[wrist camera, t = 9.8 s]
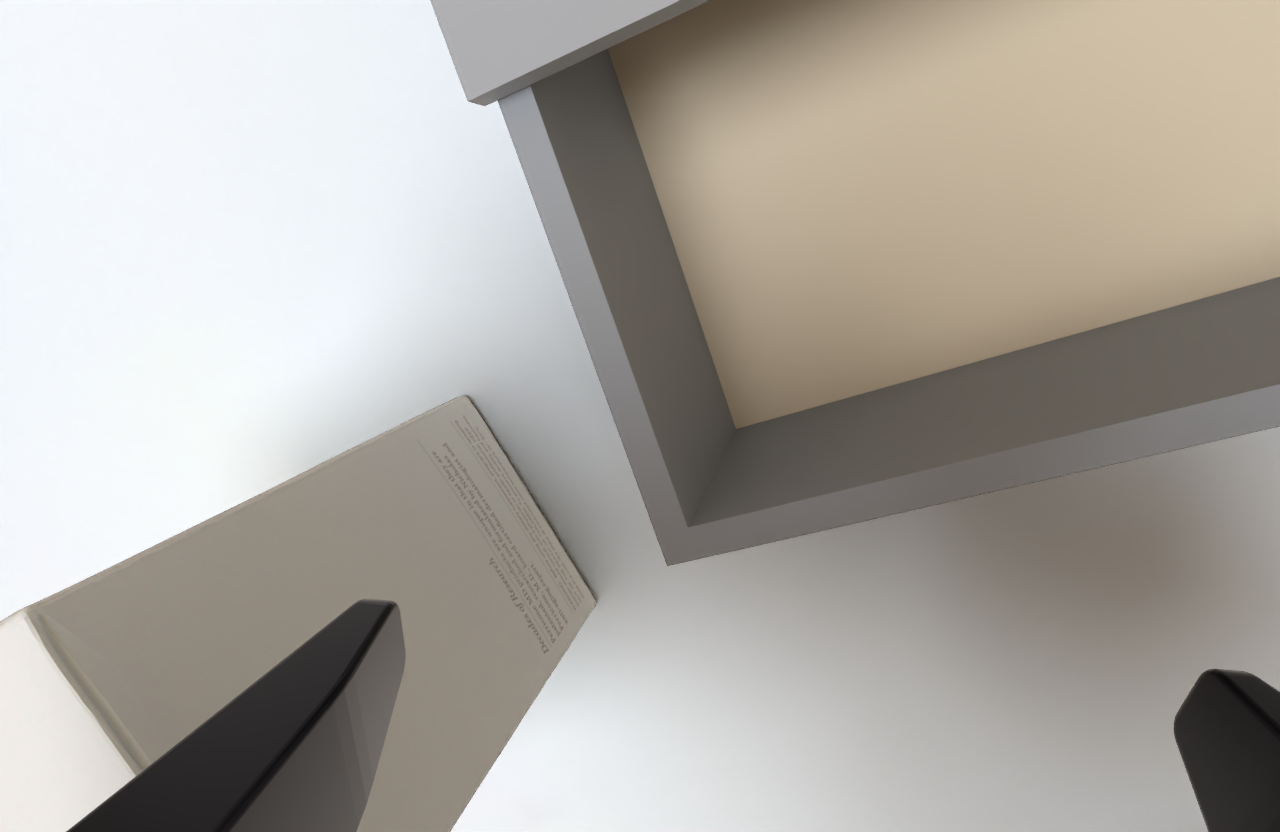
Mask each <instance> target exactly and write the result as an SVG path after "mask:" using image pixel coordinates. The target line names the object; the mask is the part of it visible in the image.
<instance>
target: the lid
mask: <svg viewBox="0 0 1280 832" xmlns="http://www.w3.org/2000/svg"><path fill="white" fill-rule="evenodd" d="M430 1H431V3H432V6H433V9H434V12H435V14H436V17H437V20H438V22H439V25H440V28H441V30H442V33H443V36H444V38H445V41H446V44H447V47H448V49H449V52H450V55H451V57H452V60H453V63H454V65H455V68H456V71H457V74H458V76H459V79H460V82H461V84H462V87H463V90H464V92H465V95H466V98H467V100H468V101H469V102H472V103H476V104H479V105H483V106H486V105H488V104H490V103H493V102H495V101H497V100H499V99H501V98H503V97H505V96H507V95H510V94H512V93H514V92H516V91H518V90H520V89H522V88H525V87H527V86H529V85H531V84H533V83H535V82H537V81H539V80H542V79H544V78H546V77H548V76H550V75H552V74H554V73H557V72H559V71H561V70H563V69H565V68H567V67H569V66H571V65H574V64H576V63H578V62H580V61H582V60H584V59H586V58H589V57H591V56H593V55H595V54H597V53H599V52H601V51H603V50H606V49H608V48H610V47H612V46H614V45H616V44H618V43H621V42H623V41H625V40H627V39H629V38H631V37H633V36H635V35H638V34H640V33H642V32H644V31H646V30H648V29H650V28H652V27H655V26H657V25H659V24H661V23H663V22H665V21H667V20H670V19H672V18H674V17H676V16H678V15H680V14H682V13H684V12H687V11H689V10H691V9H693V8H695V7H697V6H699V5H702V4H704V3H706V2H708V1H710V0H430Z"/></svg>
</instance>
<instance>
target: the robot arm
mask: <svg viewBox="0 0 1280 832" xmlns="http://www.w3.org/2000/svg"><path fill="white" fill-rule="evenodd" d="M405 660H406V651H405V643H404V636H403V629H402V621H401V614H400V609H399V606H398V605H397V603H396V602H394V601H390V600H378V599H361V600H359V601H357V602H355V603H354V604H352V605H351V606H350V607H349V608H347V609H346V610H345V611H344V612H342V613H341V614H340V615H339V616H337V617H336V618H335V619H334V620H332V621H331V622H330V623H328V624H327V625H326V626H325V627H323V628H322V629H321V630H320V631H318V632H317V633H316V634H315V635H313V636H312V637H311V638H310V639H308V640H307V641H306V642H305V643H303V644H302V645H301V646H299V647H298V648H297V649H296V650H294V651H293V652H292V653H291V654H289V655H288V656H287V657H286V658H284V659H283V660H282V661H281V662H279V663H278V664H277V665H276V666H274V667H273V668H272V669H270V670H269V671H268V672H267V673H265V674H264V675H263V676H262V677H260V678H259V679H258V680H257V681H255V682H254V683H253V684H252V685H250V686H249V687H248V688H247V689H245V690H244V691H243V692H241V693H240V694H239V695H238V696H236V697H235V698H234V699H233V700H231V701H230V702H229V703H228V704H226V705H225V706H224V707H223V708H221V709H220V710H219V711H217V712H216V713H215V714H214V715H212V716H211V717H210V718H209V719H207V720H206V721H205V722H204V723H202V724H201V725H200V726H199V727H197V728H196V729H195V730H194V731H192V732H191V733H190V734H188V735H187V736H186V737H185V738H183V739H182V740H181V741H180V742H178V743H177V744H176V745H175V746H173V747H172V748H171V749H170V750H168V751H167V752H166V753H165V754H163V755H162V756H161V757H159V758H158V759H157V760H156V761H154V762H153V763H152V764H151V765H149V766H148V767H147V768H146V769H144V770H143V771H142V772H141V773H139V774H138V775H137V776H136V777H134V778H133V779H132V780H130V781H129V782H128V783H127V784H125V785H124V786H123V787H122V788H120V789H119V790H118V791H117V792H115V793H114V794H113V795H112V796H110V797H109V798H108V799H107V800H105V801H104V802H103V803H101V804H100V805H99V806H98V807H96V808H95V809H94V810H93V811H91V812H90V813H89V814H88V815H86V816H85V817H84V818H83V819H81V820H80V821H79V822H77V823H76V824H75V825H74V826H72V827H71V828H70V829H69V830H67V831H66V832H357V830H358V827H359V824H360V822H361V819H362V816H363V814H364V811H365V808H366V805H367V802H368V799H369V796H370V792H371V789H372V785H373V782H374V778H375V775H376V771H377V768H378V764H379V760H380V757H381V753H382V749H383V746H384V742H385V738H386V735H387V731H388V728H389V724H390V720H391V717H392V713H393V709H394V706H395V702H396V699H397V695H398V691H399V688H400V684H401V680H402V677H403V673H404V668H405ZM1174 735H1175V739H1176V743H1177V745H1178V748H1179V751H1180V754H1181V757H1182V759H1183V762H1184V765H1185V768H1186V770H1187V773H1188V776H1189V779H1190V782H1191V784H1192V787H1193V790H1194V793H1195V795H1196V798H1197V801H1198V804H1199V806H1200V809H1201V812H1202V815H1203V818H1204V820H1205V823H1206V826H1207V829H1208V831H1209V832H1280V692H1279V691H1277V690H1276V689H1274V688H1273V687H1272V686H1270V685H1269V684H1267V683H1266V682H1264V681H1263V680H1261V679H1260V678H1258V677H1257V676H1255V675H1253V674H1251V673H1248V672H1244V671H1234V670H1222V669H1209V670H1207V671H1205V672H1204V673H1202V674H1201V675H1200V677H1199V678H1198V680H1197V681H1196V683H1195V685H1194V686H1193V688H1192V689H1191V691H1190V693H1189V694H1188V696H1187V698H1186V699H1185V701H1184V703H1183V704H1182V706H1181V707H1180V709H1179V711H1178V712H1177V714H1176V716H1175V720H1174Z"/></svg>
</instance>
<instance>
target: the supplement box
mask: <svg viewBox="0 0 1280 832" xmlns="http://www.w3.org/2000/svg"><path fill="white" fill-rule="evenodd" d="M361 599H378V600H390V601H394V602H396V603H397V605H398V606H399V609H400V614H401V621H402V629H403V636H404V643H405V651H406V660H405V668H404V673H403V677H402V680H401V684H400V688H399V691H398V695H397V699H396V702H395V706H394V709H393V713H392V717H391V720H390V724H389V728H388V731H387V735H386V738H385V742H384V746H383V749H382V753H381V757H380V760H379V764H378V768H377V771H376V775H375V778H374V782H373V785H372V789H371V792H370V796H369V799H368V802H367V805H366V808H365V811H364V814H363V816H362V819H361V822H360V824H359V827H358V830H357V832H450V831H451V829H452V828H453V826H454V825H455V823H456V822H457V820H458V819H459V817H460V815H461V814H462V812H463V811H464V809H465V808H466V806H467V804H468V803H469V801H470V800H471V798H472V797H473V795H474V793H475V792H476V790H477V789H478V787H479V786H480V784H481V783H482V781H483V779H484V778H485V776H486V775H487V773H488V772H489V770H490V769H491V767H492V766H493V764H494V762H495V761H496V759H497V758H498V756H499V755H500V753H501V752H502V750H503V749H504V747H505V746H506V744H507V742H508V741H509V739H510V738H511V736H512V735H513V733H514V731H515V730H516V728H517V727H518V725H519V723H520V722H521V720H522V719H523V717H524V715H525V714H526V712H527V711H528V709H529V708H530V706H531V705H532V703H533V702H534V700H535V699H536V697H537V696H538V694H539V692H540V691H541V689H542V688H543V686H544V684H545V683H546V681H547V680H548V678H549V676H550V675H551V674H552V672H553V671H554V669H555V667H556V666H557V664H558V663H559V661H560V660H561V658H562V657H563V655H564V654H565V652H566V651H567V649H568V648H569V646H570V644H571V643H572V641H573V640H574V638H575V637H576V635H577V633H578V631H579V630H580V628H581V627H582V625H583V624H584V622H585V620H586V619H587V617H588V616H589V614H590V613H591V611H592V610H593V609H594V608H595V606H596V601H595V599H594V597H593V596H592V594H591V592H590V590H589V589H588V587H587V585H586V584H585V582H584V581H583V579H582V577H581V576H580V574H579V572H578V571H577V569H576V567H575V566H574V564H573V563H572V561H571V560H570V558H569V556H568V554H567V553H566V551H565V550H564V548H563V547H562V545H561V543H560V542H559V540H558V539H557V537H556V536H555V534H554V532H553V530H552V529H551V527H550V525H549V524H548V522H547V521H546V519H545V518H544V516H543V514H542V513H541V511H540V510H539V508H538V507H537V505H536V503H535V502H534V500H533V498H532V497H531V495H530V493H529V492H528V490H527V488H526V487H525V485H524V484H523V482H522V481H521V479H520V477H519V476H518V474H517V473H516V471H515V470H514V468H513V467H512V465H511V463H510V462H509V460H508V458H507V457H506V455H505V453H504V452H503V450H502V449H501V447H500V446H499V444H498V443H497V441H496V440H495V438H494V437H493V435H492V433H491V431H490V429H489V428H488V426H487V425H486V423H485V422H484V420H483V419H482V417H481V416H480V414H479V413H478V411H477V410H476V409H475V407H474V406H473V404H472V403H471V402H470V400H469V399H468V398H467V397H465V396H460V397H457V398H455V399H452V400H450V401H448V402H446V403H444V404H442V405H440V406H438V407H436V408H434V409H431V410H429V411H427V412H425V413H423V414H421V415H419V416H417V417H415V418H413V419H411V420H409V421H407V422H405V423H402V424H400V425H398V426H397V427H395V428H393V429H391V430H389V431H386V432H384V433H382V434H380V435H378V436H376V437H374V438H372V439H370V440H368V441H366V442H364V443H362V444H360V445H358V446H356V447H354V448H352V449H349V450H347V451H345V452H343V453H341V454H339V455H337V456H335V457H333V458H331V459H329V460H327V461H325V462H323V463H321V464H319V465H317V466H315V467H313V468H311V469H309V470H307V471H305V472H303V473H301V474H299V475H297V476H295V477H293V478H291V479H289V480H287V481H285V482H283V483H281V484H279V485H277V486H275V487H273V488H271V489H269V490H267V491H265V492H263V493H261V494H259V495H257V496H255V497H253V498H251V499H249V500H247V501H245V502H243V503H241V504H239V505H237V506H234V507H232V508H230V509H228V510H226V511H224V512H222V513H220V514H218V515H216V516H214V517H212V518H210V519H208V520H206V521H204V522H202V523H200V524H197V525H195V526H193V527H191V528H189V529H187V530H185V531H183V532H181V533H179V534H177V535H175V536H173V537H171V538H169V539H167V540H165V541H163V542H161V543H159V544H157V545H155V546H153V547H151V548H149V549H146V550H144V551H142V552H140V553H138V554H136V555H134V556H132V557H130V558H128V559H126V560H124V561H122V562H120V563H118V564H116V565H114V566H112V567H110V568H108V569H106V570H103V571H101V572H99V573H97V574H95V575H93V576H91V577H89V578H87V579H85V580H83V581H81V582H79V583H77V584H74V585H72V586H70V587H68V588H66V589H64V590H62V591H60V592H58V593H55V594H53V595H51V596H49V597H47V598H45V599H43V600H40V601H38V602H36V603H34V604H31V605H29V606H27V607H25V608H23V609H21V610H19V611H17V612H15V613H13V614H12V615H10V616H8V617H7V618H5V619H4V620H2V621H0V832H66V831H67V830H69V829H70V828H71V827H72V826H74V825H75V824H76V823H77V822H79V821H80V820H81V819H83V818H84V817H85V816H86V815H88V814H89V813H90V812H91V811H93V810H94V809H95V808H96V807H98V806H99V805H100V804H101V803H103V802H104V801H105V800H107V799H108V798H109V797H110V796H112V795H113V794H114V793H115V792H117V791H118V790H119V789H120V788H122V787H123V786H124V785H125V784H127V783H128V782H129V781H130V780H132V779H133V778H134V777H136V776H137V775H138V774H139V773H141V772H142V771H143V770H144V769H146V768H147V767H148V766H149V765H151V764H152V763H153V762H154V761H156V760H157V759H158V758H159V757H161V756H162V755H163V754H165V753H166V752H167V751H168V750H170V749H171V748H172V747H173V746H175V745H176V744H177V743H178V742H180V741H181V740H182V739H183V738H185V737H186V736H187V735H188V734H190V733H191V732H192V731H194V730H195V729H196V728H197V727H199V726H200V725H201V724H202V723H204V722H205V721H206V720H207V719H209V718H210V717H211V716H212V715H214V714H215V713H216V712H217V711H219V710H220V709H221V708H223V707H224V706H225V705H226V704H228V703H229V702H230V701H231V700H233V699H234V698H235V697H236V696H238V695H239V694H240V693H241V692H243V691H244V690H245V689H247V688H248V687H249V686H250V685H252V684H253V683H254V682H255V681H257V680H258V679H259V678H260V677H262V676H263V675H264V674H265V673H267V672H268V671H269V670H270V669H272V668H273V667H274V666H276V665H277V664H278V663H279V662H281V661H282V660H283V659H284V658H286V657H287V656H288V655H289V654H291V653H292V652H293V651H294V650H296V649H297V648H298V647H299V646H301V645H302V644H303V643H305V642H306V641H307V640H308V639H310V638H311V637H312V636H313V635H315V634H316V633H317V632H318V631H320V630H321V629H322V628H323V627H325V626H326V625H327V624H328V623H330V622H331V621H332V620H334V619H335V618H336V617H337V616H339V615H340V614H341V613H342V612H344V611H345V610H346V609H347V608H349V607H350V606H351V605H352V604H354V603H355V602H357V601H359V600H361Z"/></svg>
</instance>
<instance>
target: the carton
mask: <svg viewBox="0 0 1280 832" xmlns="http://www.w3.org/2000/svg"><path fill="white" fill-rule="evenodd" d="M498 103H499V105H500V108H501V111H502V114H503V116H504V119H505V122H506V125H507V127H508V130H509V133H510V136H511V138H512V141H513V144H514V147H515V149H516V152H517V155H518V158H519V160H520V163H521V166H522V169H523V171H524V174H525V177H526V180H527V182H528V185H529V188H530V190H531V193H532V196H533V199H534V201H535V204H536V207H537V210H538V212H539V215H540V218H541V221H542V223H543V226H544V229H545V232H546V234H547V237H548V240H549V243H550V245H551V248H552V251H553V254H554V256H555V259H556V262H557V265H558V267H559V270H560V273H561V276H562V278H563V281H564V284H565V286H566V289H567V292H568V295H569V297H570V300H571V303H572V306H573V308H574V311H575V314H576V317H577V319H578V322H579V325H580V328H581V330H582V333H583V336H584V339H585V341H586V344H587V347H588V350H589V352H590V355H591V358H592V361H593V363H594V366H595V369H596V372H597V374H598V377H599V380H600V382H601V385H602V388H603V391H604V393H605V396H606V399H607V402H608V404H609V407H610V410H611V413H612V415H613V418H614V421H615V424H616V426H617V429H618V432H619V435H620V437H621V440H622V443H623V446H624V448H625V451H626V454H627V457H628V459H629V462H630V465H631V468H632V470H633V473H634V476H635V479H636V481H637V484H638V487H639V489H640V492H641V495H642V498H643V500H644V503H645V506H646V509H647V511H648V514H649V517H650V520H651V522H652V525H653V528H654V531H655V533H656V536H657V539H658V542H659V544H660V547H661V550H662V553H663V555H664V558H665V561H666V564H667V566H670V565H674V564H679V563H683V562H687V561H692V560H696V559H701V558H705V557H709V556H714V555H718V554H722V553H727V552H731V551H736V550H740V549H744V548H749V547H753V546H757V545H762V544H766V543H771V542H775V541H779V540H784V539H788V538H793V537H797V536H801V535H806V534H810V533H814V532H819V531H823V530H828V529H832V528H836V527H841V526H845V525H849V524H854V523H858V522H863V521H867V520H871V519H876V518H880V517H885V516H889V515H893V514H898V513H902V512H906V511H911V510H915V509H920V508H924V507H928V506H933V505H937V504H941V503H946V502H950V501H955V500H959V499H963V498H968V497H972V496H977V495H981V494H985V493H990V492H994V491H998V490H1003V489H1007V488H1012V487H1016V486H1020V485H1025V484H1029V483H1033V482H1038V481H1042V480H1047V479H1051V478H1055V477H1060V476H1064V475H1069V474H1073V473H1077V472H1082V471H1086V470H1090V469H1095V468H1099V467H1104V466H1108V465H1112V464H1117V463H1121V462H1126V461H1130V460H1134V459H1139V458H1143V457H1147V456H1152V455H1156V454H1161V453H1165V452H1169V451H1174V450H1178V449H1182V448H1187V447H1191V446H1196V445H1200V444H1204V443H1209V442H1213V441H1218V440H1222V439H1226V438H1231V437H1235V436H1239V435H1244V434H1248V433H1253V432H1257V431H1261V430H1266V429H1270V428H1274V427H1279V426H1280V0H710V1H708V2H706V3H704V4H702V5H699V6H697V7H695V8H693V9H691V10H689V11H687V12H684V13H682V14H680V15H678V16H676V17H674V18H672V19H670V20H667V21H665V22H663V23H661V24H659V25H657V26H655V27H652V28H650V29H648V30H646V31H644V32H642V33H640V34H638V35H635V36H633V37H631V38H629V39H627V40H625V41H623V42H621V43H618V44H616V45H614V46H612V47H610V48H608V49H606V50H603V51H601V52H599V53H597V54H595V55H593V56H591V57H589V58H586V59H584V60H582V61H580V62H578V63H576V64H574V65H571V66H569V67H567V68H565V69H563V70H561V71H559V72H557V73H554V74H552V75H550V76H548V77H546V78H544V79H542V80H539V81H537V82H535V83H533V84H531V85H529V86H527V87H525V88H522V89H520V90H518V91H516V92H514V93H512V94H510V95H507V96H505V97H503V98H501V99H499V100H498Z"/></svg>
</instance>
